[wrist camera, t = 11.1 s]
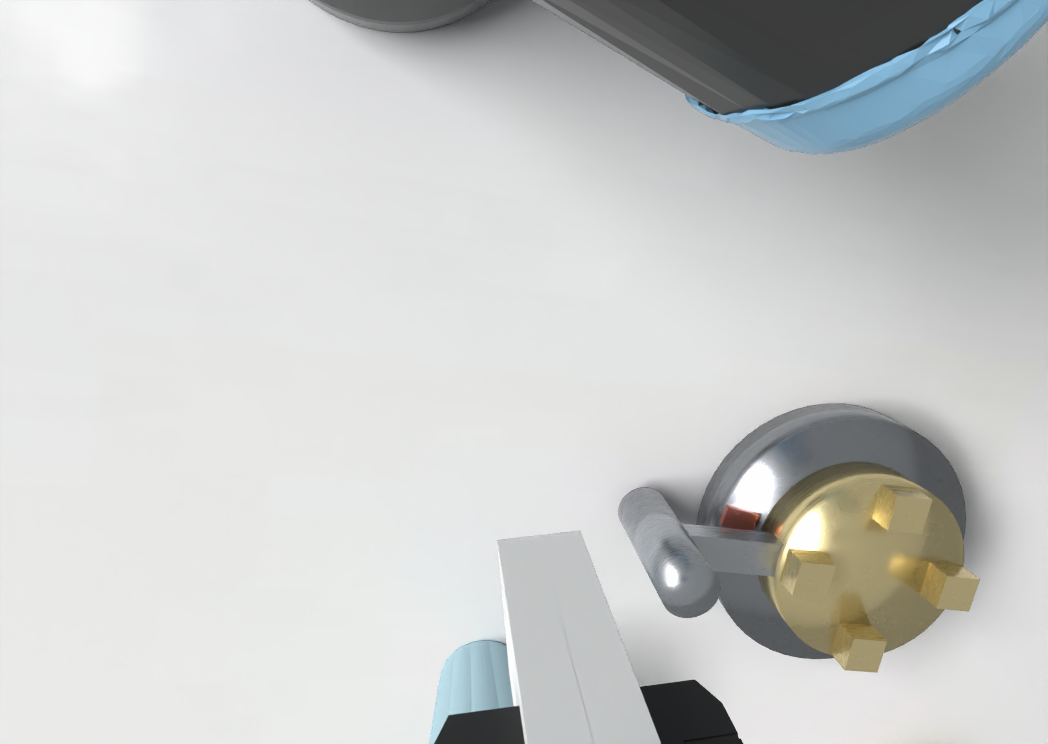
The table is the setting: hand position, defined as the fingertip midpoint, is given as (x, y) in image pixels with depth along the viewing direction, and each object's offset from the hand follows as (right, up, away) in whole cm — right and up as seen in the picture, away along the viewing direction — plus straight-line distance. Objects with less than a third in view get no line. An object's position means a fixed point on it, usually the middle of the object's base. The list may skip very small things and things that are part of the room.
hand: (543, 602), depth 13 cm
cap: (+18, -5, +34) cm, 39 cm away
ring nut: (+15, -5, +32) cm, 36 cm away
